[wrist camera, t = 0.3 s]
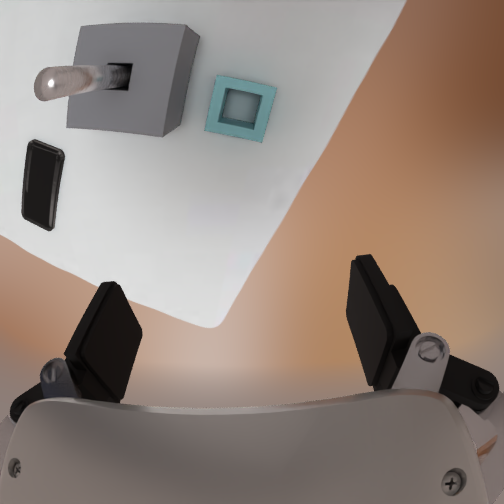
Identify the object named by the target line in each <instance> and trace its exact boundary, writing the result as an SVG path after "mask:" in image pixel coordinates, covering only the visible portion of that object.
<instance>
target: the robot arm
mask: <svg viewBox="0 0 504 504" xmlns="http://www.w3.org/2000/svg"><path fill="white" fill-rule="evenodd" d="M346 316H347V320H348V323H349V326H350V329H351V332H352V335H353V338H354V341H355V344H356V348H357V351H358V354H359V357H360V360H361V363H362V366H363V370H364V373H365V376H366V380H367V383H368V385H369V386H373V388H374V392H368V393H361V394H355V395H350V396H343V397H337V398H331V399H324V400H316V401H309V402H301V403H292V404H284V405H283V404H282V405H271V406H258V407H239V408H172V407H171V408H170V407H153V406H139V405H128V404H120V400H121V399H123V398H124V395H125V391H126V387H127V384H128V381H129V377H130V374H131V370H132V367H133V364H134V361H135V357H136V354H137V351H138V348H139V345H140V341H141V339H142V328H141V327H140V325H139V323H138V321H137V319H136V317H135V315H134V313H133V311H132V309H131V307H130V305H129V303H128V301H127V298H126V296H125V294H124V292H123V290H122V288H121V286H120V285H119V284H117V283H116V282H115V281H111V282H103V283H101V285H100V286H99V288H98V290H97V292H96V293H95V295H94V297H93V299H92V300H91V302H90V304H89V306H88V308H87V309H86V311H85V313H84V315H83V317H82V319H81V321H80V323H79V324H78V326H77V328H76V330H75V332H74V334H73V336H72V338H71V340H70V342H69V344H68V346H67V348H66V350H65V352H64V355H65V356H66V359H65V360H63V359H62V358H54V359H52V360H50V361H48V362H47V363H46V364H45V365H44V366H43V368H42V370H41V373H40V381H41V382H40V383H39V384H37V385H35V386H34V387H33V388H31V389H29V390H28V391H26V392H25V393H23V394H22V395H20V396H19V397H17V398H16V399H15V400H14V401H13V403H12V405H11V408H10V416H11V417H9V416H8V415H7V416H6V417H5V419H4V420H3V421H2V422H1V423H0V504H493V503H494V502H495V500H496V499H497V498H498V496H499V495H500V493H501V492H502V491H503V489H504V392H503V393H502V392H501V391H499V384H498V381H497V379H496V377H495V376H494V375H493V374H492V373H490V372H489V371H487V370H484V369H482V368H480V367H478V366H475V365H473V364H470V363H468V362H466V361H464V360H461V359H459V358H457V357H454V356H452V355H450V354H449V353H450V349H449V346H448V344H447V342H446V340H445V339H443V338H442V337H441V336H439V335H437V334H435V333H430V332H428V333H422V334H421V332H420V331H419V329H418V327H417V325H416V323H415V321H414V319H413V317H412V315H411V314H410V312H409V310H408V308H407V306H406V305H405V303H404V301H403V299H402V297H401V296H400V294H399V292H398V290H397V289H396V287H395V286H394V285H389V284H388V282H387V280H386V279H385V277H384V275H383V273H382V272H381V270H380V268H379V267H378V265H377V263H376V262H375V260H374V258H373V257H372V255H371V254H368V255H359V256H356V259H355V260H352V261H351V270H350V281H349V290H348V299H347V308H346ZM472 440H473V441H474V442H475V444H476V446H477V453H476V450H475V447H474V444H473V441H472Z"/></svg>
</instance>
